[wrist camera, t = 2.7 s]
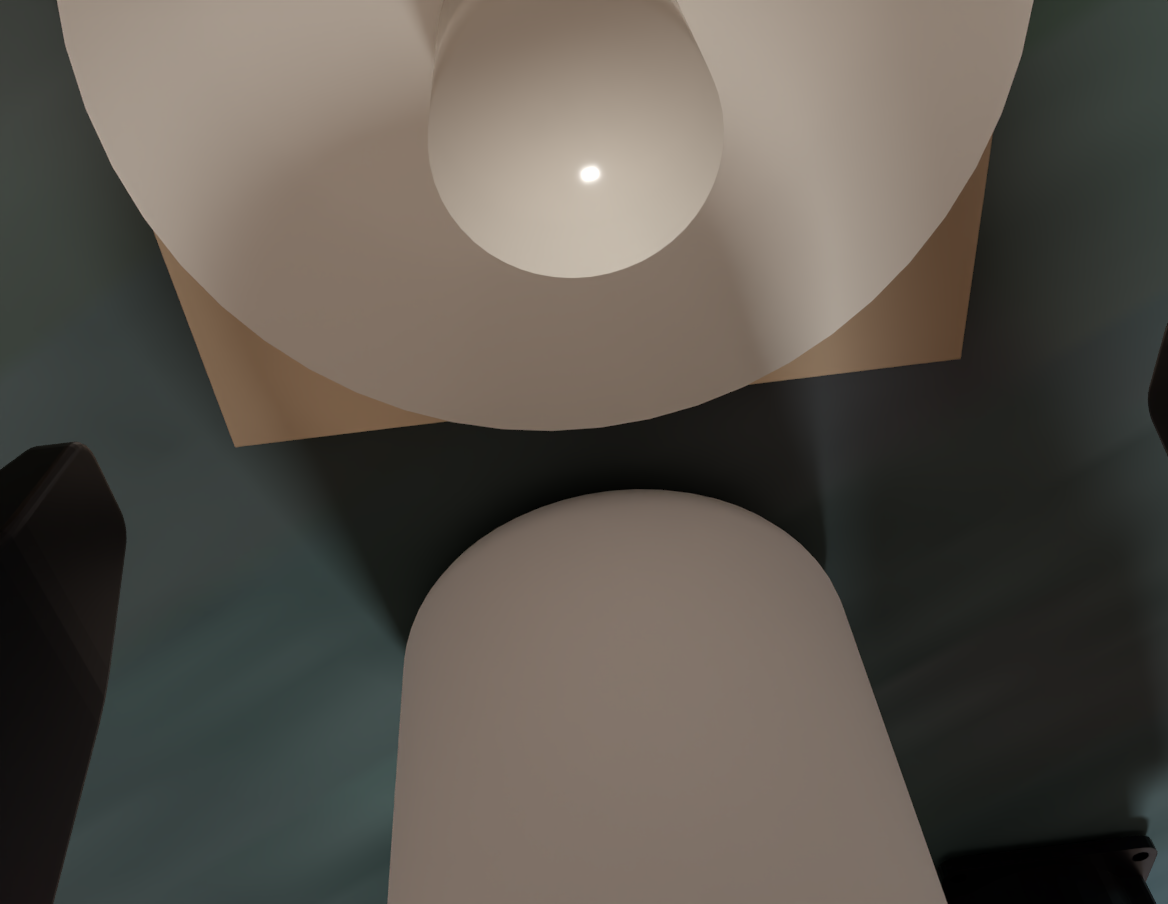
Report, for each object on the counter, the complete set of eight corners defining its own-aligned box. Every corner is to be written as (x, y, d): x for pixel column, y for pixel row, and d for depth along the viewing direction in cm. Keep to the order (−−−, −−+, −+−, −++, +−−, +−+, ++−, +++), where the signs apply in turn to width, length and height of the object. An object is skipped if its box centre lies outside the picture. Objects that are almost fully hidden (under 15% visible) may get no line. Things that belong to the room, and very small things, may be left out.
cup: (890, 660, 28) (1053, 1089, 20) (547, 798, 30) (571, 1225, 22) (722, 383, 22) (857, 833, 14) (317, 583, 24) (241, 1056, 17)
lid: (1106, -675, 12) (1342, -768, 9) (959, 358, 21) (1050, 505, 18) (-131, -524, 12) (-357, -560, 9) (235, 446, 21) (188, 610, 18)
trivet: (1085, -666, 13) (1108, -676, 12) (949, 341, 22) (960, 358, 21) (-109, -520, 13) (-132, -524, 12) (239, 428, 22) (235, 447, 21)
